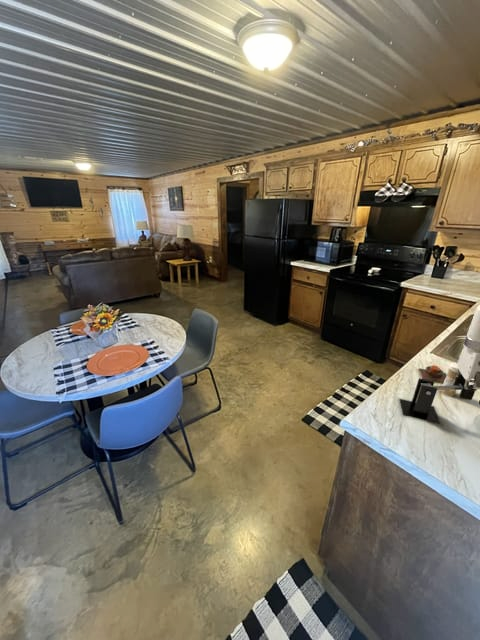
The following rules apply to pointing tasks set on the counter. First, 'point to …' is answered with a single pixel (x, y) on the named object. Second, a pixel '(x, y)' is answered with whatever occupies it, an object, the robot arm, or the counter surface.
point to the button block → (432, 375)
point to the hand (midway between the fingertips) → (461, 392)
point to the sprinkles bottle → (450, 379)
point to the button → (435, 369)
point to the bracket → (421, 403)
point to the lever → (446, 386)
